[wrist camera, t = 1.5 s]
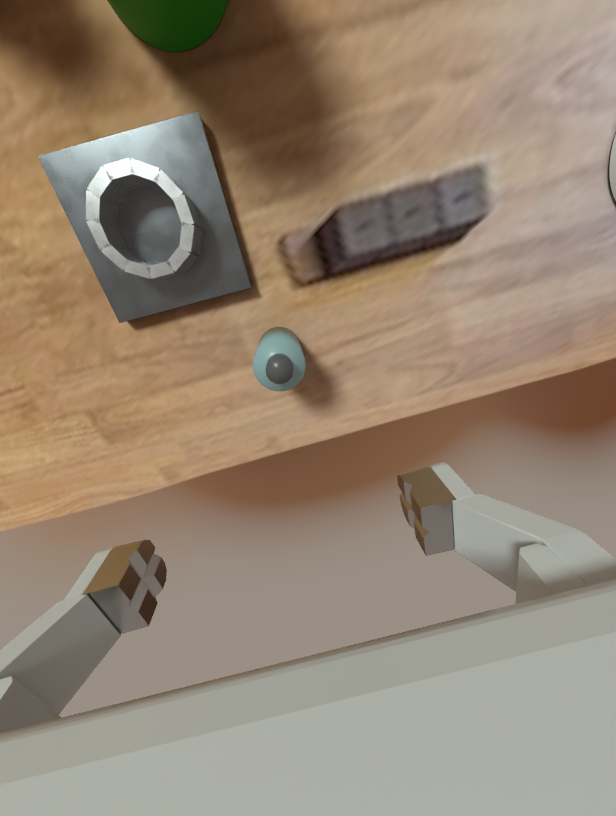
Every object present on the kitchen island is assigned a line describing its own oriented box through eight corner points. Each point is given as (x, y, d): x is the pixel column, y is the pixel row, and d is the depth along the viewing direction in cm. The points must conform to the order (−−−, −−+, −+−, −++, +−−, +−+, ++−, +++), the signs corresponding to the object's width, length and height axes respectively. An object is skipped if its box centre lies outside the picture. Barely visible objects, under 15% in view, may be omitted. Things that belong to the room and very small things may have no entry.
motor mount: (202, 120, 26) (188, 90, 22) (252, 287, 32) (248, 288, 28) (50, 162, 26) (7, 140, 22) (126, 321, 32) (103, 327, 28)
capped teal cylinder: (294, 322, 34) (299, 336, 25) (304, 362, 35) (312, 389, 27) (253, 333, 34) (243, 351, 25) (265, 372, 36) (261, 402, 27)
